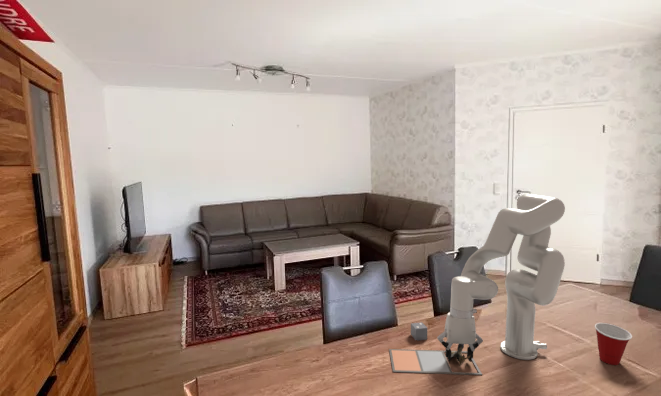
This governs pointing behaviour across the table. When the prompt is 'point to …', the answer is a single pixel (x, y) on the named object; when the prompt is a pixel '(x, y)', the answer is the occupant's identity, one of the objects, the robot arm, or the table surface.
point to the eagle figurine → (459, 354)
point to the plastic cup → (611, 342)
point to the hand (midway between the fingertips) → (458, 358)
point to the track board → (423, 362)
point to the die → (419, 331)
